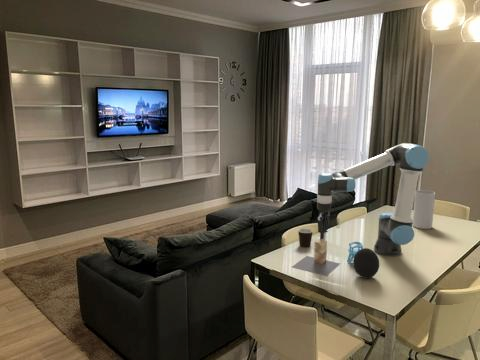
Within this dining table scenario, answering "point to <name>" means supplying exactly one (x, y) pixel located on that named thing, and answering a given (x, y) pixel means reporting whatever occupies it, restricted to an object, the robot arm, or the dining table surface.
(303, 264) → the mat
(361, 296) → the dining table surface
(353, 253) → the chair
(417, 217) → the cylinder vase
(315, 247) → the wood block
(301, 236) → the coffee mug
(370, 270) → the decorative egg
